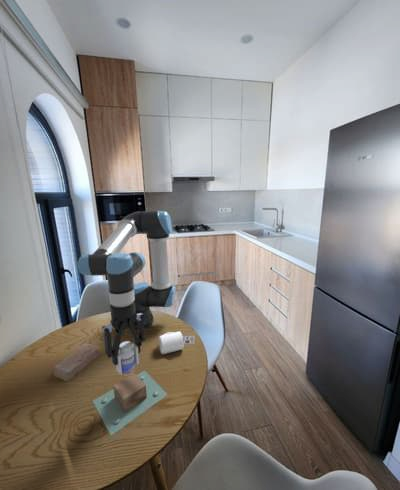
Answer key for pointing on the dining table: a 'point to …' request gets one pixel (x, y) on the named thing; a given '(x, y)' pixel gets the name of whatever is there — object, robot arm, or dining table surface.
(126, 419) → the build board
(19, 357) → the dining table surface
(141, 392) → the walnut block
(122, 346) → the pill bottle
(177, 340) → the mug
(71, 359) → the brick
